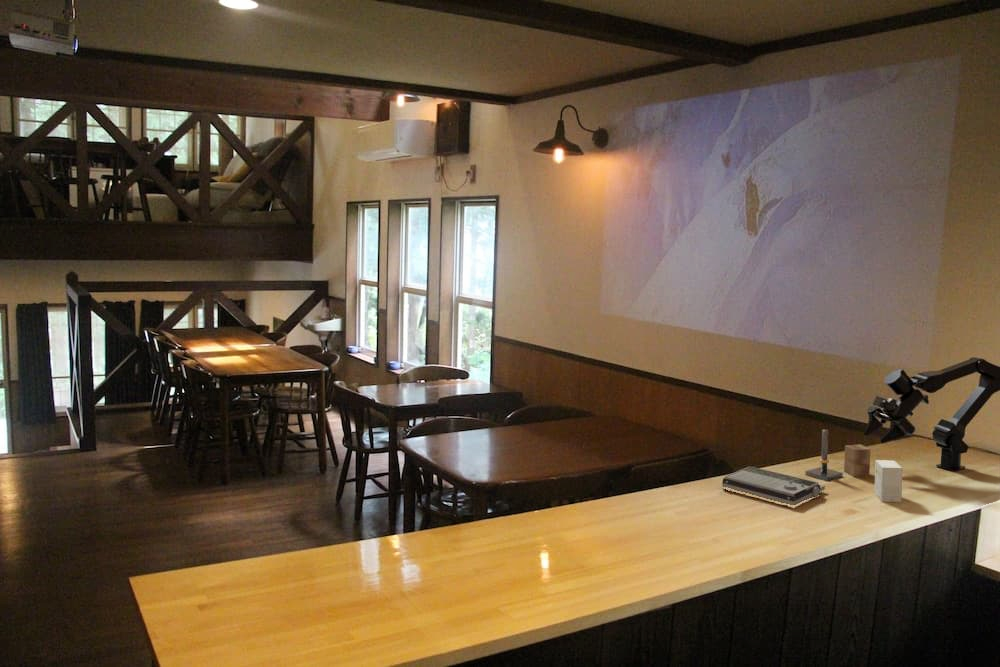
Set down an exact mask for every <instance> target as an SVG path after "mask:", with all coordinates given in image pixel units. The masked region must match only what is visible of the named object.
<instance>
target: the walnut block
mask: <svg viewBox="0 0 1000 667" xmlns="http://www.w3.org/2000/svg"><path fill="white" fill-rule="evenodd" d="M843 463H844V464H843V465H844V469H843V472H844V473H846V474H847V475H849V476H851V477H852V478H855V477H854V476H861V477H867V476H866V475H869V476H870V469H871V468H870V466H871V448H869V447H866V446H865V445H863V444H848V445H844V462H843Z"/></svg>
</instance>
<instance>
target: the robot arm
mask: <svg viewBox="0 0 1000 667" xmlns="http://www.w3.org/2000/svg"><path fill="white" fill-rule="evenodd" d="M974 373H978V374H979V375H980V376H979V379H978V380H979V381H978V385H977V386H976V388H975V389H974V390H973V391H972V393H971V394H970V395H969V396H968V397H967V398H966V400H965V401H964V402H963V404H962V405H961V406H960V407H959V408H958V409H957V411H956V412H955V413H954V414H953V416H952V417H951V418H949V419H943V418H941V419H939V421H938V423H937V424H936V425H935V426H934V427H933V429H934V430H933V431H932V439H933V441H934V442H935V445H936V447H938V448H941V450H940V451H941V452H940V454H941V455H940V463H939V464H936V465H935V467H936V466H937V467H936V468H939V467H941V468H940V469H943V468H944V469H945V470H948V471H951V472H952V471H953V472H958V471H960V470H963V469H965V468H966V465H961V464H962V454H964V453H965V454H966V453H968V450H969V445H968V444H967V443H966V442H965V441H964V440H963V439H964V438H965V435H966V428H967V426H968V425H969V424H970V423H971V421H972V420H973V419H974V418H975V417H976V415H977V414H978V413H979V412H980V410H981V409H982V408H983V407H984V406H985V404H986V403H987V402H988V401H989V399H991V397H993V395H994V394H995V393H997V392H999V391H1000V365H996V364H994V363H991V362H989V361H987V360H986V359H984V358H980V357H975V356H973V357H970V358H969V359H966V360H964V361H961V362H958V363H956V364H953V365H950V366H947V367H944V368H942V369H938V370H927V371H923V372H918V373H916V374H915V375H913V376H909V375H908V374H907V373H906V371H905V370H904V369H902V368H898V369H897V370H894V371H892V372H890V373H888V374H887V375H886V376H885V377H884V380H883V381H884V384H885V385H886V386H888V387H889V389H890V390H891V391H892V392H893V393H894V395H897V396H899V397H898V398H897V399H894V398H891V397H888V399H887V398H884V397H881V396H879V395H876V396H875V398H874V400H873V402H872V405H871V406H869V407H868V408H867V409H866V412H867V415H868V422H867V424H866V426H865V429H864V431H863V434H862V435H863V436H864V437H867V436H868V435H871V434H872V433H874V432H876V431H877V430H878V429H880V428H882V427H884V424H886V423H887V422H888V423H890V425H889V428H888V430H887V431H886V432H885V433H884V435H883V436H882V437H881V438H880V440H879V442H880V443H881V444H886V443H888V442H891V441H894V440H896V439H900V438H902V437H907V436H908V435H909V436H912V435H913V434H914V433H915V432H916V427H915V426H914V425H913V424H912V422H910V420H909V419H908V418H907V417H908V416H910V417H913V415H914V413H913V411H914V410H915V409H916V408H917V407H918V406H919V404H922V403H923V404H925V405H929V403H930V402H929V395H927V394H923V392H925V393H929V394H934V393H936V392H938V391H940V390H942V389H943V388H945V386H946V385H947V384H948V383H950V382H953V381H956V380H958V379H961V378H964V377H967V376H969V375H971V374H974ZM944 469H943V470H944Z"/></svg>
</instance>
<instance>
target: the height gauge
mask: <svg viewBox="0 0 1000 667" xmlns="http://www.w3.org/2000/svg"><path fill="white" fill-rule="evenodd" d="M828 446H829V430H828V429H822V430H821V456H820V457H821V458H819V462H820V464H821V465H820V466H819V467H816V468H813V469H812V468H811V469H808V470H805V476H808V477H812V478H816V479H818V480H821V481H826V482H827V481H828V480H829V481H832V480H834V479H838V478H841V477H843V472H841V471H839V470H838V471H837V470H834V469H830V468H828V463H829V462H830V460H829V458H828V453H829V449H828Z"/></svg>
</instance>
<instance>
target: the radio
mask: <svg viewBox="0 0 1000 667" xmlns="http://www.w3.org/2000/svg"><path fill="white" fill-rule="evenodd" d="M721 485H722V486H723V487H728V488H731V489H734V490H737V491H741V492H745V493H749V494H752V495H756V496H759V497H763V498H766V499H770V500H774V501H778V502H781V503H786V504H790V505H796V504H798V503H800V502H802V501H804V500H807V499H809V498H812V497H817V496H818V495H820V496H821V492H822V491H825V489H826V486H825V485H823V484H820V483H819V482H817V481H813V480H811V479H810V480H808V479H805V478H801V477H797V476H792V475H789V474H784V473H780V472H775V471H771V470H767V469H763V468H759V467H755V466H747V467H745V468H742V469H739V470H737V471H735V472H732V473H728V474H727V475H724V477H723V478H722V484H721ZM817 498H818V497H817Z"/></svg>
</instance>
